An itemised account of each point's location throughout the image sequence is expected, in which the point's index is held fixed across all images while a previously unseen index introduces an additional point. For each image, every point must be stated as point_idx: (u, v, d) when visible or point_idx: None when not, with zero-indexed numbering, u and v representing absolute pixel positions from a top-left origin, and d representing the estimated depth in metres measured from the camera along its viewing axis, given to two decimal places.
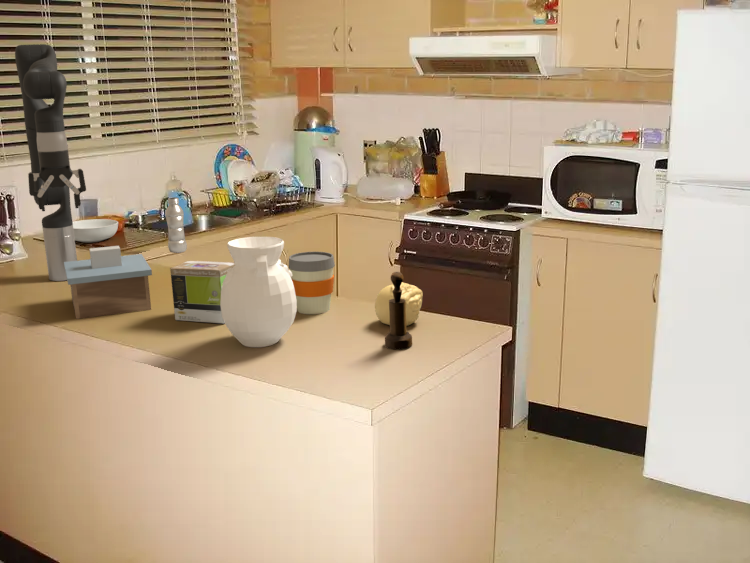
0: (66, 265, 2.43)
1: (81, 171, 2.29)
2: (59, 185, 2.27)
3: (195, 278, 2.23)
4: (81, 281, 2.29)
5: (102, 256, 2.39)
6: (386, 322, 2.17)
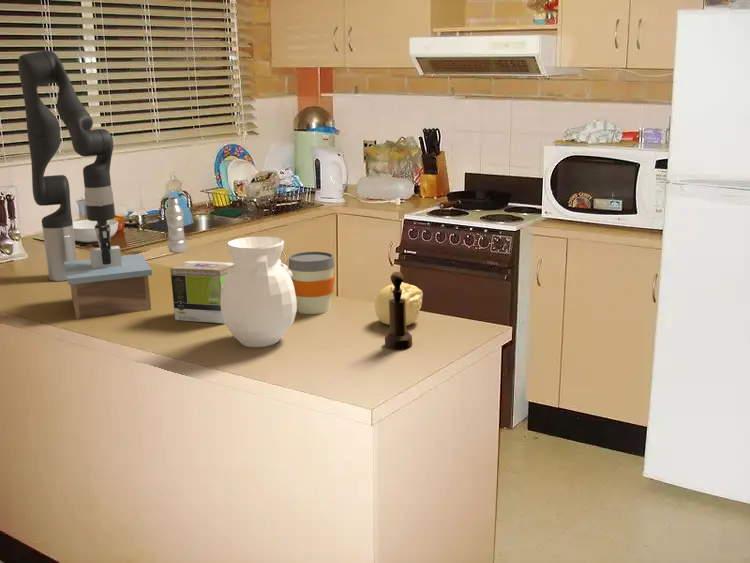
0: (66, 265, 2.43)
1: None
2: None
3: (195, 278, 2.23)
4: (81, 281, 2.29)
5: None
6: (386, 322, 2.17)
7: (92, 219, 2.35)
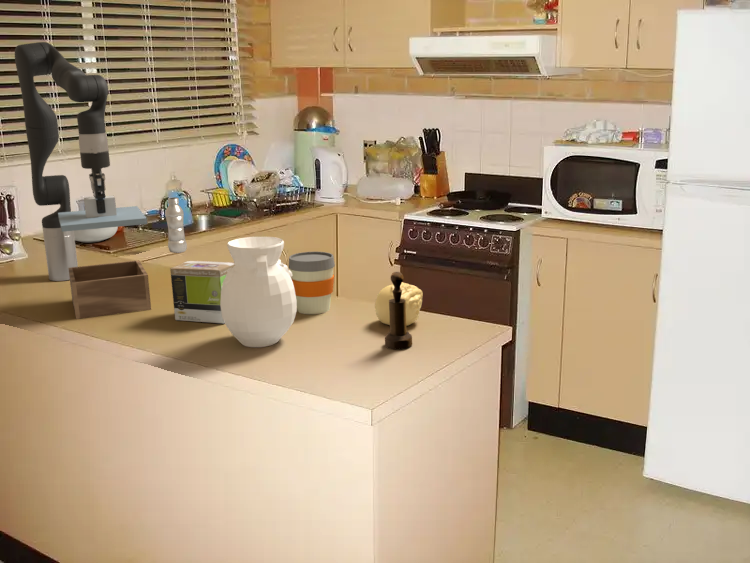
0: (60, 215, 2.40)
1: None
2: None
3: (195, 278, 2.23)
4: (75, 228, 2.26)
5: (96, 205, 2.35)
6: (386, 322, 2.17)
7: (86, 166, 2.31)
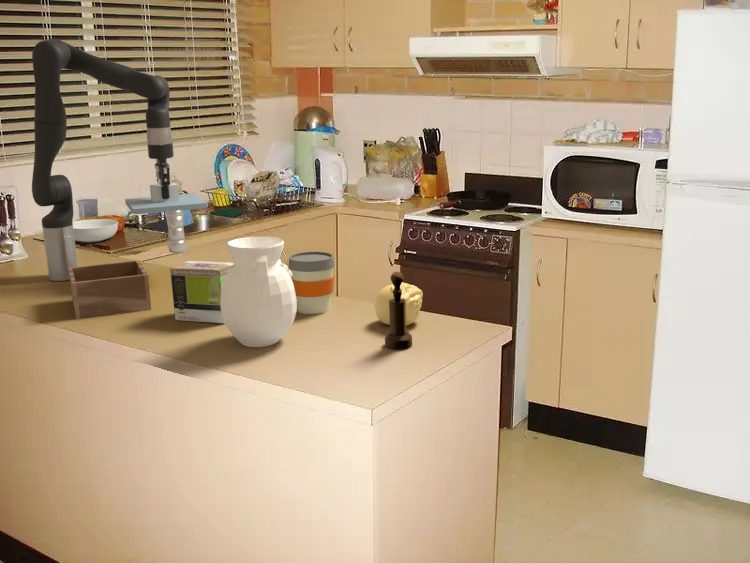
0: (128, 200, 2.68)
1: None
2: None
3: (195, 278, 2.23)
4: (145, 211, 2.54)
5: (161, 192, 2.63)
6: (386, 322, 2.17)
7: (153, 157, 2.59)
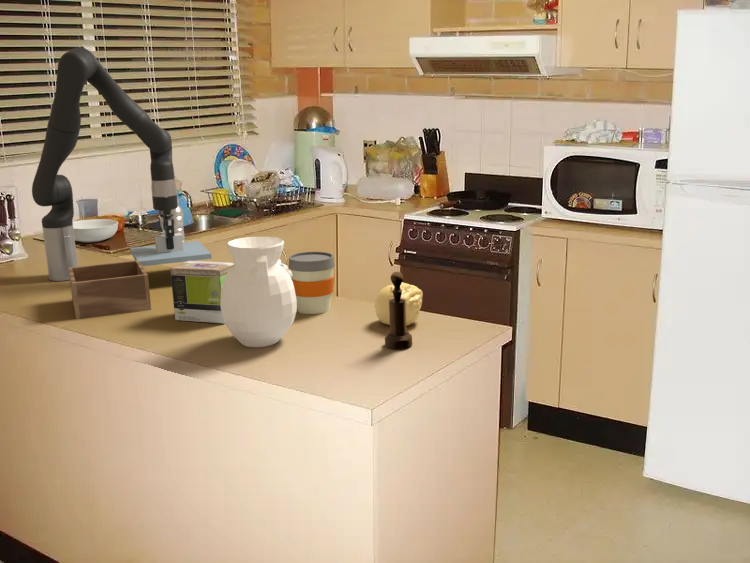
0: (133, 250, 2.72)
1: None
2: None
3: (195, 278, 2.23)
4: (150, 263, 2.58)
5: None
6: (386, 322, 2.17)
7: (158, 209, 2.63)
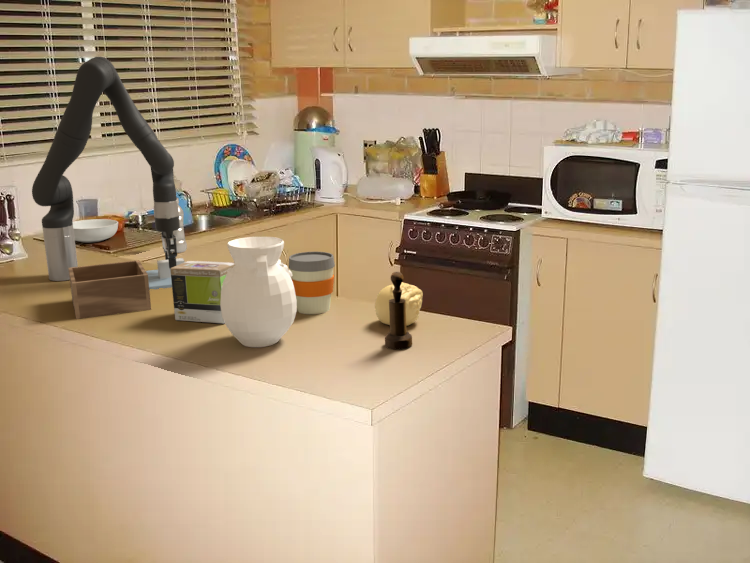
0: None
1: None
2: None
3: (195, 278, 2.23)
4: None
5: (168, 268, 2.70)
6: (386, 322, 2.17)
7: (160, 230, 2.65)
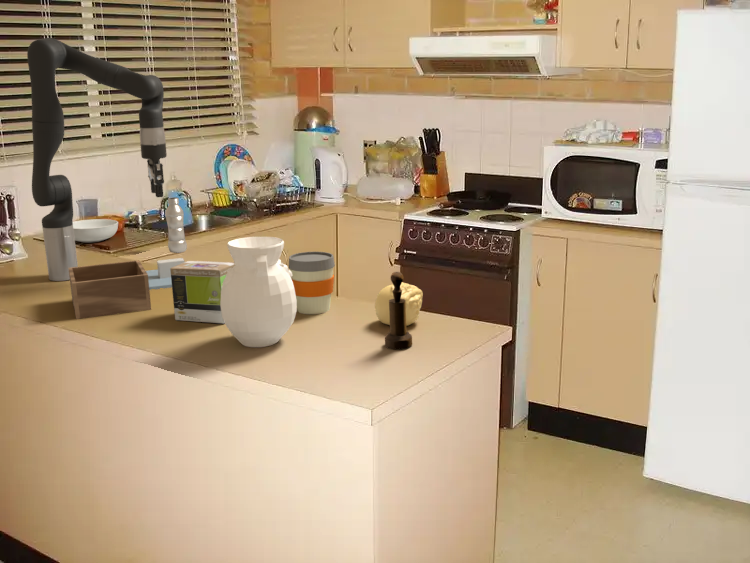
0: None
1: None
2: None
3: (195, 278, 2.23)
4: None
5: (168, 268, 2.70)
6: (386, 322, 2.17)
7: (147, 157, 2.58)
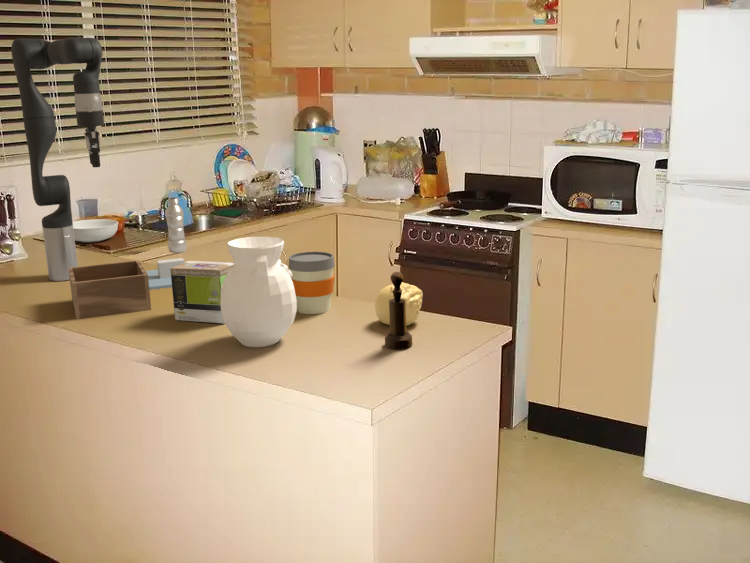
0: None
1: None
2: None
3: (195, 278, 2.23)
4: None
5: (168, 268, 2.70)
6: (386, 322, 2.17)
7: (82, 125, 2.44)
